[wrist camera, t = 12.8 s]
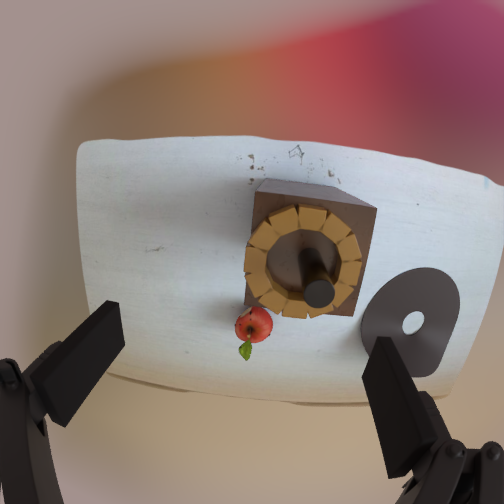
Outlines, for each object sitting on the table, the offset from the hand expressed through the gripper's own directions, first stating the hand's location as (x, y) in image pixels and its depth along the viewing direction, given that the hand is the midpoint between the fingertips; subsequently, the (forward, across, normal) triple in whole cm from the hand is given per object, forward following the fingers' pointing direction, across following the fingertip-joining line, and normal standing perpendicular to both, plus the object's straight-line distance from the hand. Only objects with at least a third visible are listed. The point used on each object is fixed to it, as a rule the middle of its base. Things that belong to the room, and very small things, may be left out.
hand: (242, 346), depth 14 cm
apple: (+38, 0, -21) cm, 43 cm away
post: (+16, +5, 0) cm, 17 cm away
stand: (+38, +5, -1) cm, 38 cm away
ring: (+16, +4, -1) cm, 16 cm away
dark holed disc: (+38, +34, -17) cm, 53 cm away
